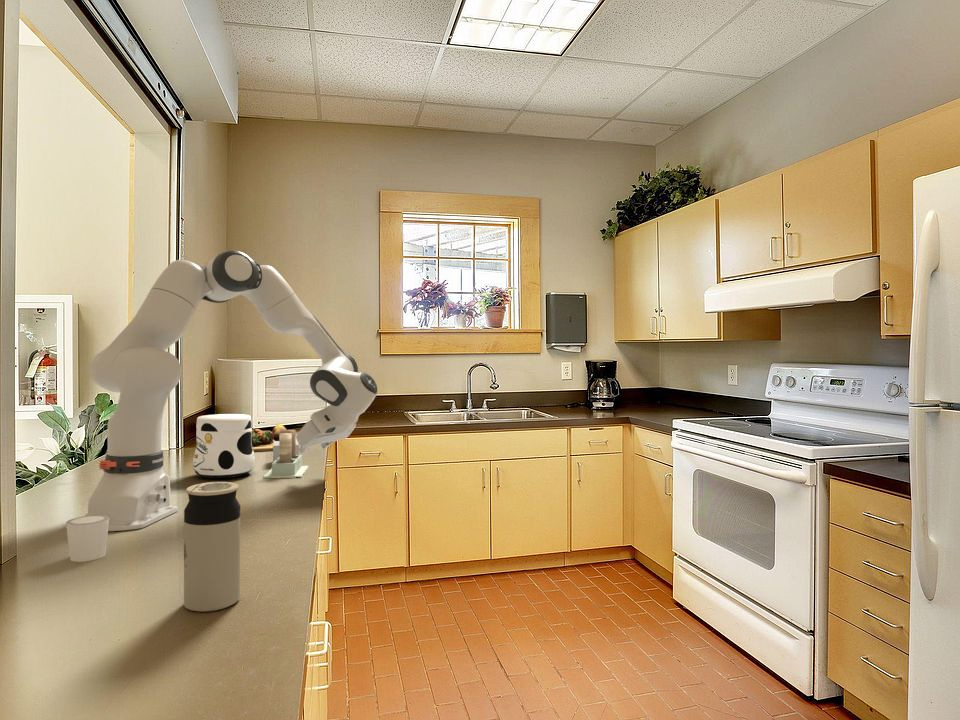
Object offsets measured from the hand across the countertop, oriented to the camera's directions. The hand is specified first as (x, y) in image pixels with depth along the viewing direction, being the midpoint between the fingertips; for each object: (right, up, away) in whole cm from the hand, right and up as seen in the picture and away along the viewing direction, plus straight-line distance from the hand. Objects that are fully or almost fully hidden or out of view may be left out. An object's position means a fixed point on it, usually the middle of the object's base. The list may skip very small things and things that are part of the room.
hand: (312, 449), depth 187 cm
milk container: (-28, -9, +3) cm, 29 cm away
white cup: (-23, -10, -70) cm, 75 cm away
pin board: (-10, -9, +8) cm, 15 cm away
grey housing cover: (-15, -8, +22) cm, 28 cm away
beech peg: (-10, -8, +5) cm, 14 cm away
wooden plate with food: (-38, -8, +60) cm, 71 cm away
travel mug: (+9, -11, -90) cm, 91 cm away
